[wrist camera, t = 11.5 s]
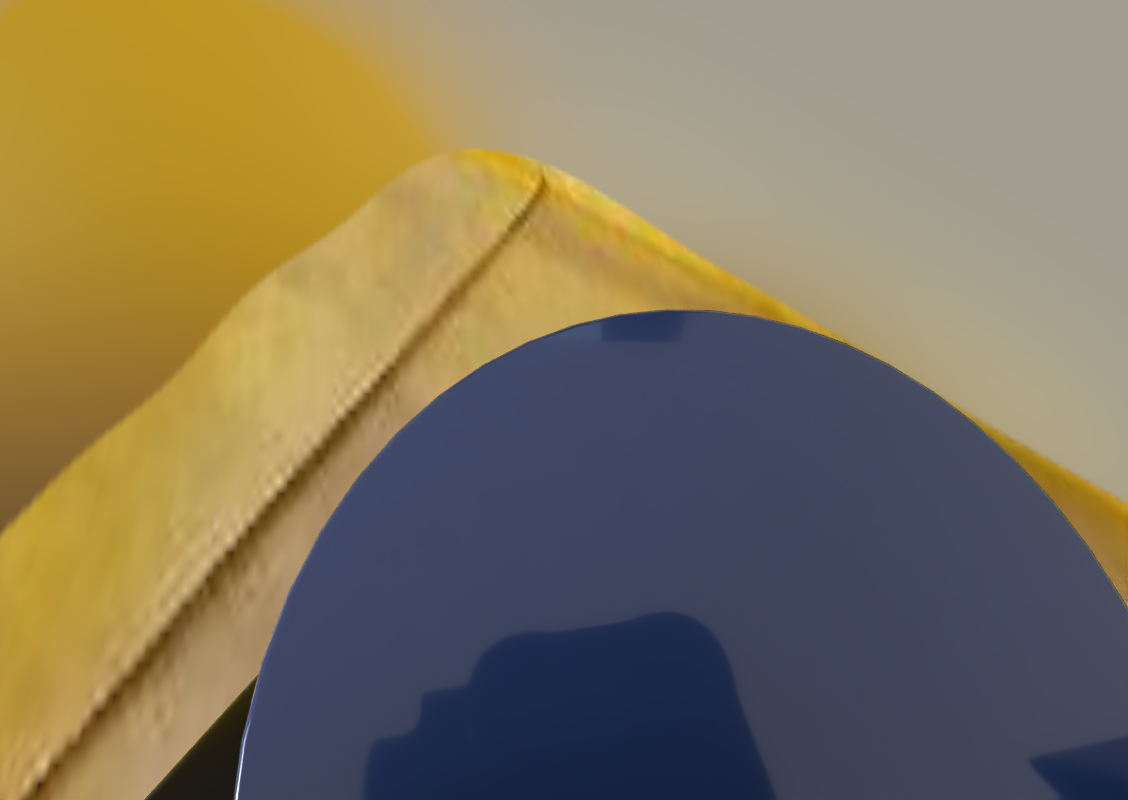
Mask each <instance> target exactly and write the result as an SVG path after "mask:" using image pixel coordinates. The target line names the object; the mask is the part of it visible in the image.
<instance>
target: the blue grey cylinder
mask: <svg viewBox="0 0 1128 800" xmlns="http://www.w3.org/2000/svg"><path fill="white" fill-rule="evenodd" d="M233 800H1128V608H1127V606H1126V604H1125V603H1124V601H1123V599H1122V597H1121V596H1120V594H1119V593H1118V591H1117V590H1116V588H1115V587H1114V585H1113V584H1112V582H1111V580H1110V579H1109V577H1108V576H1107V574H1106V573H1105V571H1104V570H1103V568H1102V567H1101V565H1100V563H1099V562H1098V560H1097V559H1096V557H1095V556H1094V554H1093V553H1092V551H1091V550H1090V548H1089V547H1088V545H1087V544H1086V543H1085V541H1084V540H1083V539H1082V538H1081V536H1080V535H1079V534H1078V532H1077V531H1076V530H1075V528H1074V527H1073V526H1072V525H1071V523H1070V522H1069V521H1068V519H1067V518H1066V517H1065V516H1064V514H1063V513H1062V512H1061V510H1060V509H1059V508H1058V507H1057V505H1056V504H1055V503H1054V501H1053V500H1052V499H1051V498H1050V497H1049V496H1048V495H1047V494H1046V493H1045V491H1044V490H1043V489H1042V488H1041V487H1040V486H1039V485H1038V484H1037V483H1036V482H1035V481H1034V480H1033V478H1032V477H1031V476H1030V475H1029V474H1028V473H1027V472H1026V471H1025V470H1024V469H1023V468H1022V467H1021V465H1020V464H1019V463H1018V462H1017V461H1016V460H1015V459H1014V458H1013V457H1012V456H1011V455H1010V454H1009V453H1007V452H1006V451H1005V450H1004V449H1003V448H1002V447H1001V446H1000V445H999V444H997V443H996V442H995V441H994V440H993V439H992V438H991V437H990V436H989V435H988V434H986V433H985V432H984V431H983V430H982V429H981V428H980V427H979V426H978V425H977V424H975V423H974V422H973V421H972V420H970V419H969V418H968V417H966V416H965V415H964V414H962V413H961V412H960V411H958V410H957V409H956V408H954V407H953V406H952V405H950V404H949V403H948V402H946V401H945V400H944V399H942V398H941V397H940V396H938V395H937V394H936V393H934V392H933V391H932V390H930V389H928V388H927V387H925V386H924V385H922V384H920V383H919V382H917V381H915V380H914V379H912V378H911V377H909V376H907V375H906V374H904V373H902V372H901V371H899V370H897V369H896V368H894V367H893V366H891V365H889V364H887V363H885V362H883V361H881V360H879V359H877V358H875V357H873V356H871V355H869V354H867V353H864V352H862V351H860V350H858V349H856V348H854V347H852V346H850V345H848V344H846V343H843V342H840V341H838V340H835V339H832V338H829V337H827V336H824V335H821V334H818V333H816V332H813V331H810V330H807V329H805V328H802V327H798V326H794V325H790V324H786V323H782V322H778V321H774V320H770V319H765V318H761V317H757V316H751V315H743V314H735V313H728V312H720V311H712V310H657V311H648V312H638V313H629V314H619V315H615V316H611V317H606V318H602V319H598V320H593V321H589V322H585V323H580V324H576V325H572V326H570V327H567V328H564V329H561V330H559V331H556V332H553V333H550V334H548V335H545V336H542V337H540V338H537V339H534V340H531V341H529V342H527V343H525V344H523V345H521V346H519V347H517V348H515V349H513V350H511V351H509V352H507V353H505V354H503V355H501V356H499V357H497V358H496V359H494V360H492V361H490V362H488V363H486V364H484V365H482V366H481V367H479V368H478V369H476V370H475V371H473V372H472V373H470V374H469V375H468V376H466V377H465V378H463V379H462V380H460V381H459V382H457V383H456V384H454V385H453V386H452V387H450V388H449V389H447V390H446V391H444V392H443V393H441V394H440V395H439V396H437V397H436V398H435V399H434V400H433V401H432V402H431V403H430V404H428V405H427V406H426V407H425V408H424V409H423V410H422V411H420V412H419V413H418V414H417V415H416V416H415V417H414V418H413V419H411V420H410V421H409V422H408V423H407V424H406V425H405V426H404V427H402V428H401V429H400V430H399V431H398V432H397V433H396V434H395V435H394V436H393V437H392V439H391V440H390V441H389V442H388V443H387V444H386V445H385V447H384V448H383V449H382V450H381V451H380V452H379V453H378V454H377V456H376V457H375V458H374V459H373V460H372V461H371V462H370V464H369V465H368V466H367V467H366V468H365V469H364V470H363V471H362V473H361V474H360V475H359V476H358V477H357V479H356V480H355V482H354V483H353V484H352V486H351V487H350V489H349V490H348V492H347V493H346V495H345V496H344V498H343V499H342V500H341V502H340V503H339V505H338V506H337V508H336V509H335V511H334V512H333V514H332V515H331V516H330V518H329V519H328V521H327V522H326V524H325V525H324V527H323V528H322V530H321V531H320V533H319V535H318V537H317V539H316V541H315V543H314V545H313V547H312V548H311V550H310V552H309V554H308V556H307V558H306V560H305V562H304V564H303V566H302V567H301V569H300V571H299V573H298V575H297V577H296V579H295V581H294V583H293V585H292V587H291V588H290V590H289V592H288V595H287V598H286V600H285V603H284V605H283V608H282V611H281V613H280V616H279V618H278V621H277V624H276V626H275V629H274V631H273V634H272V637H271V639H270V642H269V644H268V647H267V650H266V652H265V655H264V657H263V660H262V663H261V667H260V671H259V675H258V679H257V682H256V686H255V690H254V694H253V698H252V702H251V706H250V710H249V713H248V717H247V721H246V725H245V729H244V733H243V737H242V741H241V748H240V755H239V762H238V769H237V777H236V784H235V791H234V798H233Z"/></svg>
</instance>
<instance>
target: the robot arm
mask: <svg viewBox="0 0 1128 800" xmlns="http://www.w3.org/2000/svg"><path fill="white" fill-rule="evenodd" d="M258 675H259V674H258ZM258 675H257V676H256V677H255V679H254V680H253V681H252V682H251V683H250V684H249V685H248V686H247V687H246V688H245V690H244V691H243V692H242V693H241V694H240V695H239V696H238V697H237V698H236V699H235V701H234V702H233V703H232V704H231V705H230V706H229V707H228V708H227V709H226V710H225V712H224V713H223V714H222V715H221V716H220V717H219V718H218V719H217V720H216V721H215V723H214V724H213V725H212V726H211V727H210V728H209V729H208V730H207V731H206V732H205V734H204V735H203V736H202V737H201V738H200V739H199V740H198V741H197V742H196V744H195V745H194V746H193V747H192V748H191V749H190V750H189V751H188V752H187V753H186V755H185V756H184V757H183V758H182V759H181V760H180V761H179V762H178V763H177V764H176V766H175V767H174V768H173V769H172V770H171V771H170V772H169V773H168V774H167V775H166V777H165V778H164V779H163V780H162V781H161V782H160V783H159V784H158V785H157V786H156V788H155V789H154V790H153V791H152V792H151V793H150V794H149V795H148V796H147V797H146V799H145V800H233V798H234V791H235V784H236V777H237V769H238V762H239V755H240V748H241V741H242V737H243V733H244V729H245V725H246V721H247V717H248V713H249V710H250V706H251V702H252V698H253V694H254V690H255V686H256V682H257V679H258Z"/></svg>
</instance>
